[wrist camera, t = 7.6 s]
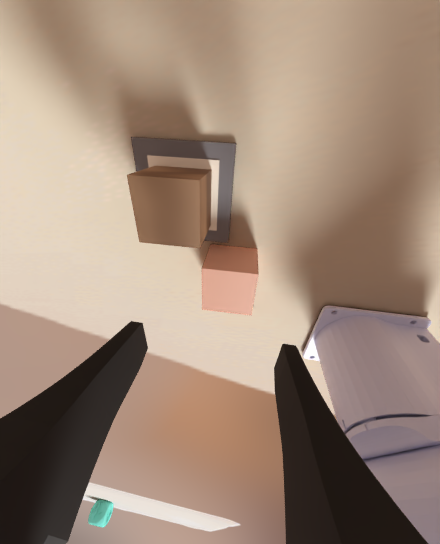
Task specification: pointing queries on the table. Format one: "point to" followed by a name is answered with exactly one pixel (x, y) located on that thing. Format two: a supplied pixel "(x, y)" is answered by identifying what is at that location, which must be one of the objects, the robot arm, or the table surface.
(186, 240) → the walnut block
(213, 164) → the mat
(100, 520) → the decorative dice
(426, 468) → the robot arm
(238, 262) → the terracotta block
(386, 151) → the table surface
